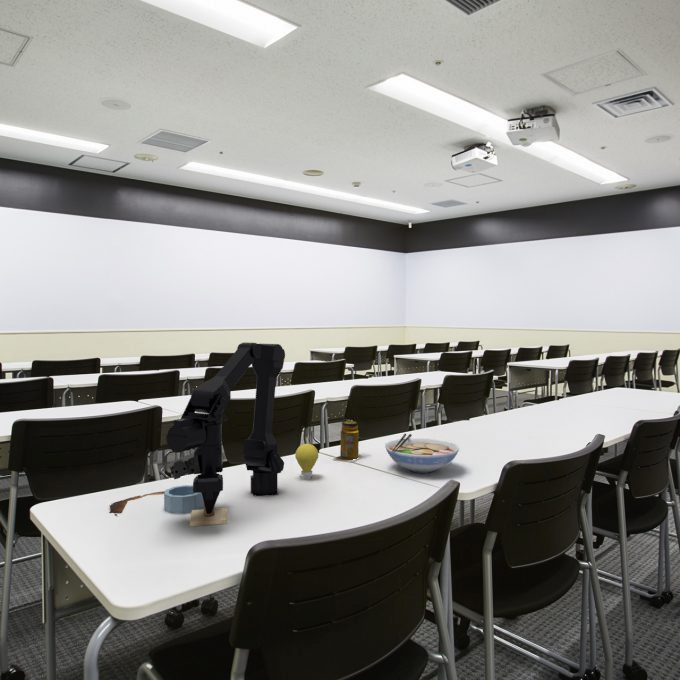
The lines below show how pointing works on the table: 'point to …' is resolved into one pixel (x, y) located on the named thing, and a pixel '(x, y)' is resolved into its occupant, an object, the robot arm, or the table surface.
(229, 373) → the robot arm
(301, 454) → the light bulb
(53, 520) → the table surface
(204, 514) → the lid
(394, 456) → the ramen bowl
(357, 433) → the condiment
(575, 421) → the table surface
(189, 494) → the bowl
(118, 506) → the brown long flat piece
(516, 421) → the table surface
